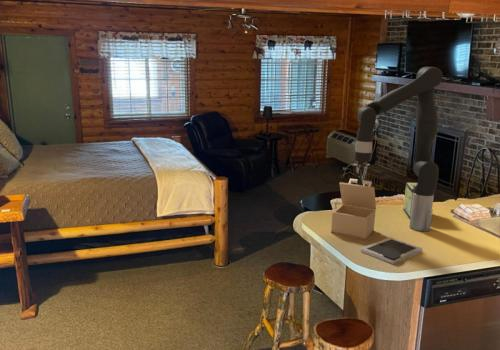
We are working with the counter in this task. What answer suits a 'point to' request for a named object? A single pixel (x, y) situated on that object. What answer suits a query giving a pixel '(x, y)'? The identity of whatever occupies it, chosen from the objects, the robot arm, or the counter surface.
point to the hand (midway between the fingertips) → (359, 187)
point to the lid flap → (358, 194)
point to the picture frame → (391, 250)
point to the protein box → (408, 197)
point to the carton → (353, 221)
